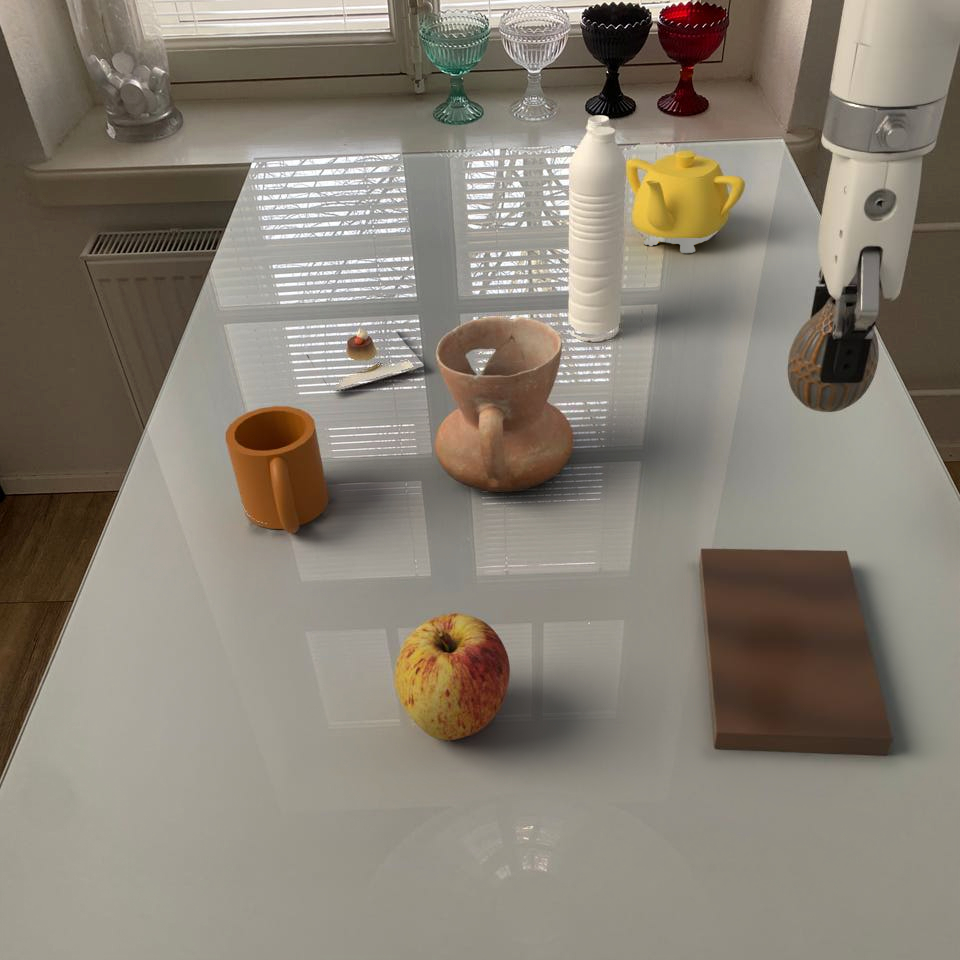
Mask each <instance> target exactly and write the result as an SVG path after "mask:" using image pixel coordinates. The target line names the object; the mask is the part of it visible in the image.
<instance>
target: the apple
mask: <svg viewBox="0 0 960 960" xmlns="http://www.w3.org/2000/svg"><path fill="white" fill-rule="evenodd" d="M510 672H511V668H510V659H509V654H508V652H507V650H506V647H505V644H504V643H503V641H502V640H501V638H500V636H499V634H498V633H497V632H496V631H495V630H494V628H492V627H491V626H490V625H489V624H488V623H486V622H485V621H483V620H482V619H479V618H477V617H475V616H473V615H469V614H465V613H459V612H455V613H448V614H443V615H439V616H436V617H434V618H431V619H429V620H427V621H424V622H423V623H422V624H420V625H419V626H418V627H417V628H415V630H413V631H412V632H411V634H410V635H408V636H407V638H406V639H405V641H404V642H403V644H402V646H401V648H400V651H399V653H398V655H397V659H396V663H395V667H394V685H395V690H396V694H397V696H398V698H399V701H400V703H401V705H402V707H403V708H404V711H405V712H406V714H407V715H408V716H409V718H410V719H411V720H412V721H413V722H414V723H415V724H416V725H417V726H418V727H419V728H420V729H421V730H422V731H423V732H424V733H426V734H427V735H428V736H429V737H432V738H434V739H437V740H441V741H454V740H459V739H463V738H466V737H469V736H472V735H474V734H477V733H478V732H480V731H481V730H483V729H484V728H485V727H486V726H487V725H488V724H489V723H490V722H491V721H492V720H493V719H494V718H495V717H496V715H497V714H498V712H499V710H500V709H501V707H502V706H503V703H504V700H505V698H506V696H507V692H508V688H509V684H510V683H509V682H510V677H511V676H510V675H511V673H510Z"/></svg>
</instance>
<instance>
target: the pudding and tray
mask: <svg viewBox="0 0 960 960" xmlns="http://www.w3.org/2000/svg"><path fill="white" fill-rule="evenodd" d="M367 331H368V330H366V329H364V328H362V327H361V328H360V327H358V330H357V332H356V334H357V335H355V336H353V337H351V338H349V339H348V341H347V348H346V354H347V355H348V357H350V358H351V359H354V360H358V361H361V360H366V361H367V360H369V359H372V358H374V357H375V355H377V349H376V346H375V344H374V342H373V340H372V338H371V337H370V336H368V332H367ZM405 360H407V359H405ZM400 361H404V360H400ZM378 363H379V362H378ZM384 363H385V362H384ZM395 363H396V362H395ZM381 364H383V363H380V365H379V364H376V365H374V366H372V367H369V368H368V369H364V370H367V371H364V372H362V371H360V372H357V373H360V374H357V373H353V375H349V376H346V378H343V381H342V380H339V384H336V387H337V388H341V387H344V386H348V385H351V384H355V383H358V382H362V381H366V380H369V379H373V378H376V377H380V376H383V375H387V374H391V373H394V372H398V371H401V370H405V369H408V368H412V367H414V366H413V365H412V364H411V363H410V361H409V360H408V362H407V361H404V362H403V363H402V362H399V364H395V365H394V367H393V366H392V365H391V366H389V365H390V364H388V363H387V365H385V364H383V365H381ZM391 364H392V363H391ZM402 364H403V365H402ZM378 365H379V366H378ZM396 365H398V366H396ZM370 368H371V369H370ZM415 370H416V369H414V370H411V371H407V372H404V373H400V374H396V375H393V376H389V377H386V378H382V379H379V380H375V381H372V382H368V383H364V384H361V385H357V386H354V387H350V388H347V389H343V390H339V391H338V392H342V391H345V390H349V389H353V388H356V387H361V386H363V385H367V384H371V383H374V382H377V381H381V380H385V379H388V378H391V377H395V376H399V375H402V374H407V373H410V372H412V371H415ZM355 374H356V375H355ZM346 375H348V374H346ZM343 377H344V376H343ZM348 377H349V378H348ZM340 381H341V382H340ZM337 383H338V382H337Z"/></svg>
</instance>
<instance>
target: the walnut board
mask: <svg viewBox="0 0 960 960" xmlns="http://www.w3.org/2000/svg"><path fill="white" fill-rule="evenodd" d="M699 553H700V554H699V560H698V562H699V563H698V568H699V569H698V570H699V581H700V592H701V594H700V595H701V606H702V616H703V617H702V618H703V619H702V620H703V628H704V642H705V653H706V665H707V666H706V667H707V678H708V679H707V680H708V690H709V701H710V702H709V703H710V713H711V727H712V738H713V748H714V749H715V750H718V749H719V750H742V751H768V752H791V753H793V752H795V753H814V754H815V753H816V754H817V753H818V754H841V755H842V754H843V755H865V756H866V755H869V756H870V755H872V756H888V754H889V752H890V749H891V747H892V744H893V740H894V736H893V732H892V729H891V728H892V727H891V724H890V720H889V716H888V712H887V708H886V705H885V700H884V696H883V692H882V688H881V685H880V680H879V676H878V671H877V667H876V663H875V660H874V655H873V651H872V648H871V643H870V640H869V639H870V638H869V636H868V631H867V627H866V622H865V619H864V615H863V610H862V607H861V603H860V599H859V595H858V590H857V587H856V582H855V579H854V575H853V570H852V566H851V563H850V558H849V554H848V551H847V550H820V549H819V550H818V549H817V550H815V549H814V550H811V549H762V548H761V549H757V548H756V549H755V548H754V549H753V548H750V549H749V548H700V552H699Z"/></svg>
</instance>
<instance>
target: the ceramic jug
mask: <svg viewBox="0 0 960 960" xmlns="http://www.w3.org/2000/svg"><path fill="white" fill-rule="evenodd" d="M491 349H492V350H495V351H494V352H493V354H492V355H491V356H490V357H489V358H488V359H487V361H486V363H485V365H484V367H483V369H482V370H481V373H480V374H477V372H475V370H474V369H473V368H472V365H471V363H470V361H469V359H468V358H467V355H468V354H469V353H470V352H471V351H476V350H491ZM562 351H563V341H562V338H561V336H560V334H559V332H558V331H557V330H556V329H555V328H553V327H552V326H551V325H549V324H548V323H546V322H543V321H540V320H537V319H535V318H531V317H525V316H516V317H515V318H514V319H511V318H509V317H507V316H506V315H495V316H494V315H493V316H485V317H481V318H476V319H472V320H470V321H469V320H468V321H466V322H465V323H462V324H460V325H458V326H456V327H455V328H454V329H452V330H451V331H448V332H447V333H446V334H445V335H444V336H442V337H441V339H440V341H439V342H438V344H437V346H436V351H435V353H436V354H435V355H436V361H437V364H438V369H439V372H440V374H441V376H442V380H443V382H444V384H445V386H446V388H447V390H448V391H449V393H450V396H451V397H452V399H453V401H454V402H455V404H456V406H457V408H456V409H455V410H453V411H452V412H451V413H450V414H448V416H446V418H445V419H444V420H443V421H442V422H441V424H440V426H439V428H438V430H437V432H436V436H435V440H434V450H435V455H436V458H437V461H438V462H439V464H440V466H441V467H442V469H443V470H444V471H445V473H447V475H449V476H450V477H451V478H452V479H454V481H457V482H458V483H460V484H463V485H465V486H467V487H469V488H473V489H477V490H481V491H486V492H492V493H508V492H516V491H523V490H526V489H530V488H534V487H536V486H539V485H541V484H543V483H545V482H548V481H549V480H550V479H552V478H554V477H555V476H556V475H557V474H558V473H560V471H562V469H563V468H564V467H565V466H566V464H567V463H568V461H569V460H570V457H571V454H572V452H573V448H574V442H575V441H574V440H575V439H574V431H573V428H572V426H571V423H570V422H569V420H568V418H567V417H566V416H565V414H564V413H563V412H562V411H561V410H560V409H559V408H558V407H556V406H555V405H553V404H551V403H550V402H548V399H549V398H550V395H551V393H552V390H553V388H554V385H555V382H556V379H557V376H558V371H559V367H560V364H561V360H562V353H563V352H562Z"/></svg>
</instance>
